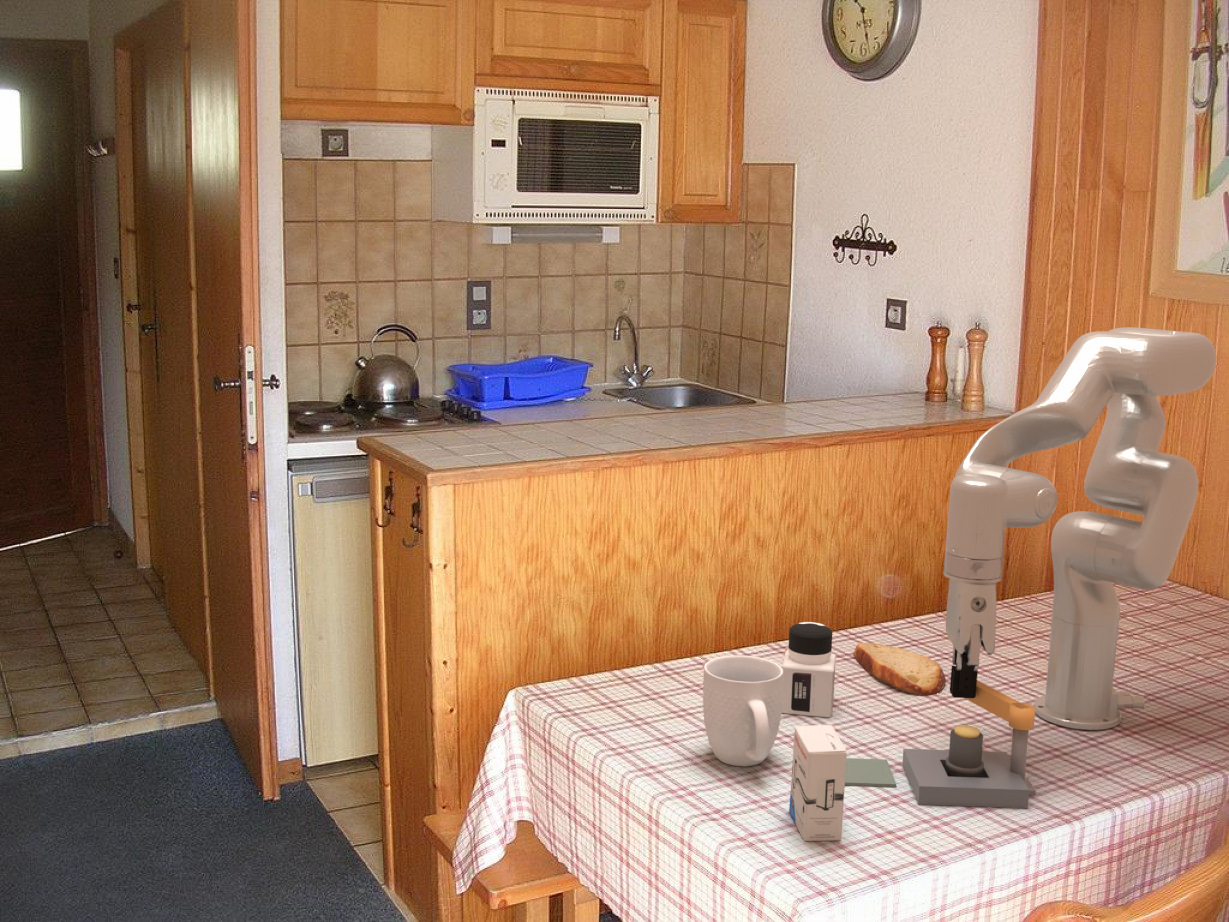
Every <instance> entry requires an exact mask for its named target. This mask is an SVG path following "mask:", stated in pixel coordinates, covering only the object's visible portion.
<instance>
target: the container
mask: <svg viewBox="0 0 1229 922" xmlns="http://www.w3.org/2000/svg"><path fill="white" fill-rule="evenodd" d="M787 646H788V647H787V648H788V649H787V650H785V653H784V658H783V663H782V666H781V668H782V669H783V699H782V700H783V701H782V713H781V714H787V715H800V716H809V717H820V718H831V717H832V716H833V715H832V714H833V705H834V698H835V696H834V695H835V679H836V678H835V676H836V659H837V656H836V654H835V653H832V649H833V631H832V629H831V628H830V627H828V626H827V625H825V624H823V623H820V622H819V623H818V622H812V621H804V622H803V621H802V622H799V623H796V624H793V625H791V626H790V627H789V630H788V645H787Z"/></svg>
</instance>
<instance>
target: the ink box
mask: <svg viewBox="0 0 1229 922" xmlns="http://www.w3.org/2000/svg"><path fill="white" fill-rule="evenodd" d="M793 734H794V736H793V748H792V749H793V751H792V765H791V766H792V767H791V781H790V782H791V784H790V795H789V808H788V809H789V810H788V811H789V814H790V816H791V817H792V820H793V821H794V824H795V825H796V828H797V829H798V832H799V833H800V836H801V839H803V841H804V842H817V841H818V842H819V841H820V842H822V841H823V842H826V841H827V842H828V841H842V834H843V832H842V831H843V830H842V829H843V817H844V802H845V801H844V800H845V787H846V785H845V772H846V758H847V753H848V752H847V748H846V747H845V745H844V744H843V742H842V740H841V739H840V736H839V734H838V733H837V731H836V729H835V728H834V726H833V725H831V724H818V725H815V724H814V725H813V724H812V725H795V726H794V733H793Z"/></svg>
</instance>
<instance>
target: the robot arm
mask: <svg viewBox="0 0 1229 922" xmlns="http://www.w3.org/2000/svg"><path fill="white" fill-rule="evenodd" d="M1216 365H1217V351H1216V347H1215V346H1214V344H1213V342H1212V341H1211V340H1210V339H1209V338H1208V337H1207V336H1206V335H1204V334H1201V333H1198V332H1191V331H1180V330H1179V331H1176V330H1169V329H1168V330H1167V329H1166V330H1165V329H1157V328H1146V327H1134V326H1133V327H1129V326H1128V327H1127V326H1126V327H1115V328H1111V329H1110V330H1108V331H1104V330H1103V331H1101V330H1100V331H1098V330H1097V331H1091V332H1087V333H1085V334H1082V335H1080V336H1079V337H1078V338H1077V339H1076V340H1075V341H1074V343H1072V345H1071V347H1069V350H1068V351H1067V353H1066V354H1065V355H1064V357H1063V358H1062V360H1061V362H1060V363H1059V365H1058V367H1057V368H1056V370H1055V371H1054V373H1053V374H1052V376H1051V377H1050V379H1049V381H1048V382H1047V384H1046V385H1045V386H1044V388H1043V390H1042V391H1041V393H1040V394H1039V396H1038V397H1037V399H1036V400H1035V401H1034V403H1032V404H1030V405H1028V406H1027V407H1025V408H1023V409H1020V410H1018V411H1017V412H1015V413H1013V414H1011V415H1010V416H1008V417H1006V418H1004V419H1003V420H1001V421H1000V422H997V423H996V424H994V425H993V426H991V427H989V428H988V429H987V430H986V431H985V432H983V433H982V434H981V435H980V436H979V437H978V438H977V439H976V441H975V442H974V443H973V445H972V446H971V448H970V449H969V451H968V452H967V454H966V455H965V457H964V458H963V460H962V461H961V463H960V465H959V467H958V468H957V471H956V472H955V476H954V478H953V479H952V480H951V483H950V487H949V488H950V489H949V498H948V499H949V500H948V511H947V512H948V514H947V523H946V524H947V526H946V539H945V540H946V541H945V550H944V551H945V552H944V565H943V566H944V567H943V576H944V577H945V578H947V579H949V582H948V593H947V600H946V601H947V602H946V603H947V604H946V614H945V632H946V636H947V638H948V639H949V641H950V642H951V644H952V659H951V660H952V665H951V669H950V681H949V682H950V683H949V693H950V694H951V696H952V697H953V698H955V699H956V698H958V699H959V698H960V699H965V698H975V697H976V686H977V680H978V672H979V666H980V654H981V647H982V649H983V650H984V652H985V653H986V654H987V655H988V656H992V655H994V653H995V651H996V635H997V633H996V632H997V631H996V630H997V627H996V625H997V584H996V583H998V582H1000V581H1002V574H1003V573H1002V571H1003V561H1004V560H1003V559H1004V546H1005V536H1006V534H1005V532H1006V529H1007V528H1027V529H1028V528H1035V527H1038V526H1040V525H1043V524H1045V522H1047V521H1048V520H1050V519H1051V517H1052V516H1053V515H1054V513H1055V511H1056V509H1057V506H1058V497H1059V496H1058V493H1057V488H1056V487H1055V485H1054V484H1053V483H1052V482H1051V481H1050V480H1049V479H1048V478H1047V477H1045V476H1043V475H1041V474H1039V473H1036V472H1031V471H1026V470H1021V469H1016V468H1012V467H1007V466H1008V465H1010V464H1011V463H1012V462H1014V461H1016V460H1018V459H1019V458H1022V457H1023V456H1027V455H1029V454H1032V453H1036V452H1039V451H1040V452H1041V451H1046V450H1051V449H1055V448H1059V447H1063V446H1066V445H1067V446H1068V445H1072V444H1074V443H1077V442H1080V441H1082V440H1084V439H1085V438H1087V437H1088V435H1089V434H1090V432H1091V431H1092V429H1093V428H1094V426H1095V425H1096V423H1097V421H1098V420H1099V417H1100V416H1101V415H1102V413H1103V412H1104V410H1105V408H1107V409H1106V411H1107V412H1106V416H1105V420H1104V423H1103V427H1102V429H1101V432H1100V434H1099V437H1098V440H1097V443H1096V446H1095V448H1094V450H1093V454H1092V457H1091V459H1090V462H1089V465H1088V467H1087V471H1086V474H1085V477H1084V483H1083V488H1084V489H1083V491H1084V494H1085V496H1086V498H1087V499H1088V500H1090V501H1091V502H1092V503H1094V504H1096V505H1097V506H1101V507H1103V508H1107V509H1111V510H1116V511H1120V512H1125V513H1130V514H1134V515H1140V516H1143V521H1142V522H1141V521H1136V520H1132V519H1126V518H1123V517H1119V516H1115V515H1109V514H1104V513H1101V512H1100V513H1099V512H1095V511H1087V510H1086V511H1085V510H1078V511H1073V512H1072V511H1071V512H1069V513H1066V514H1065V515H1063V516H1062V517H1060V518H1059V519H1058V521H1057V522H1056V523H1055V525H1054V527H1053V529H1052V533H1051V538H1050V539H1051V540H1050V551H1051V559H1052V569H1053V602H1052V611H1051V612H1052V616H1051V623H1050V624H1051V626H1050V638H1049V649H1048V660H1047V661H1048V663H1047V673H1046V674H1047V675H1046V685H1045V694H1043V695H1041V696H1039V697H1037V698H1036V699H1034V702H1033V706H1034V707H1035V715H1037V716H1038V717H1039V718H1041V719H1043V720H1045V721H1047V722H1049V723H1051V724H1055V725H1056V726H1057V725H1058V726H1061V727H1065V728H1068V729H1069V728H1070V729H1077V730H1085V731H1086V730H1087V731H1097V730H1098V731H1101V730H1107V729H1112V728H1114V727H1116V726H1118V725H1119V724H1120V723H1121V720H1122V712H1121V711H1122V710H1124V708H1128V709H1129V708H1130V709H1142V710H1144V709H1145V706H1146V705H1145V704H1146V700H1145V697H1144V695H1131V692H1130V691H1117V690H1116V689H1115V688H1114V680H1115V679H1114V677H1115V666H1116V656H1117V654H1116V653H1117V645H1118V636H1119V635H1118V633H1119V624H1120V623H1119V622H1120V616H1121V615H1120V614H1121V612H1120V611H1121V608H1120V607H1121V606H1120V601H1119V597H1118V594H1117V592H1116V589H1115V587H1114V585H1113V584H1117V585H1121V586H1124V587H1129V588H1134V589H1137V590H1145V591H1151V590H1155V589H1159V588H1160V587H1162V586H1163V584H1164V583H1166V581H1167V580H1168V578H1169V576H1170V575H1171V572H1172V571H1173V568H1174V565H1175V563H1176V560H1177V558H1178V554H1179V552H1180V550H1181V546H1182V543H1183V541H1184V538H1185V536H1186V534H1187V533H1186V532H1187V529H1188V527H1189V523H1190V521H1191V518H1192V516H1193V513H1194V509H1195V506H1196V503H1197V499H1198V493H1199V477H1198V472H1197V469H1196V468H1195V466H1194V465H1193V463H1191V461H1189V460H1188V459H1187V458H1185V457H1182V456H1179V455H1176V454H1170V453H1165V452H1159V450H1160V446H1161V443H1162V439H1163V437H1164V433H1165V430H1166V425H1167V422H1166V417H1165V413H1164V410H1163V407H1162V405H1161V404H1160V401H1159V399H1158V397H1167V396H1168V397H1169V396H1175V395H1182V394H1187V393H1192V392H1193V393H1194V392H1195V391H1198V390H1200V389H1202V388H1203V387H1205V385H1206V384H1207V383H1208V382H1209V381H1211V380H1210V379H1212V376H1213V375H1214V373H1215V369H1216Z"/></svg>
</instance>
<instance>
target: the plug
mask: <svg viewBox="0 0 1229 922" xmlns="http://www.w3.org/2000/svg"><path fill="white" fill-rule="evenodd" d="M949 735H950V736H949V746H948V747H949V749H948V750H949V756H948V757H947V758H946V766H947V767H948V777H977V778H980V773H981V771H983V769H984V763H983V761H982V751H983V747H984V746H983V745H984V744H983V743H984V734H983V733H982V732H981V731H980V729H979V728H977V727H976V726H974V725H973V726H972V725H966V724H965V725H964V724H962V725H961V724H959V725H957V726H955V727H954V729H951V731H950V734H949Z"/></svg>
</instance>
